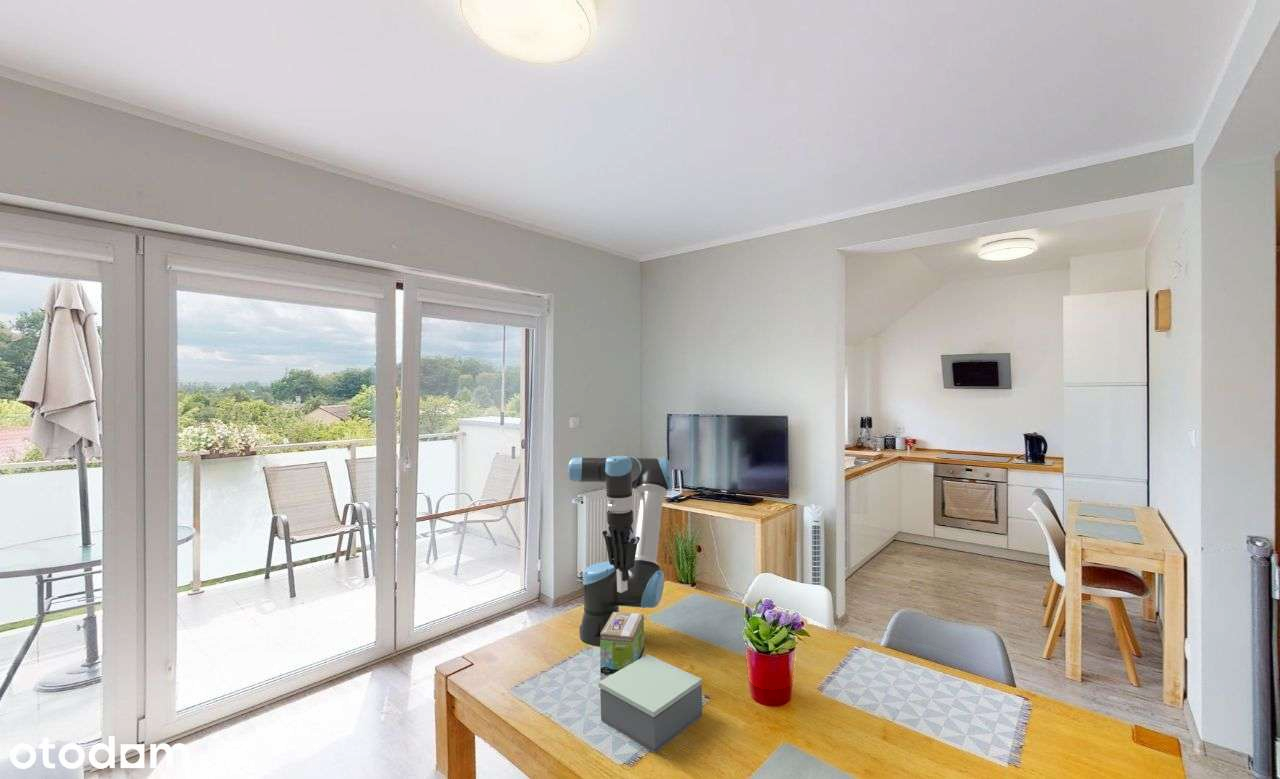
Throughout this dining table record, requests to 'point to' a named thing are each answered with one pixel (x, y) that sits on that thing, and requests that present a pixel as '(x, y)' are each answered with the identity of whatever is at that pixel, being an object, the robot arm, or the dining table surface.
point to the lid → (650, 684)
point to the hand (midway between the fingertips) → (622, 590)
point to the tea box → (621, 642)
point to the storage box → (651, 719)
